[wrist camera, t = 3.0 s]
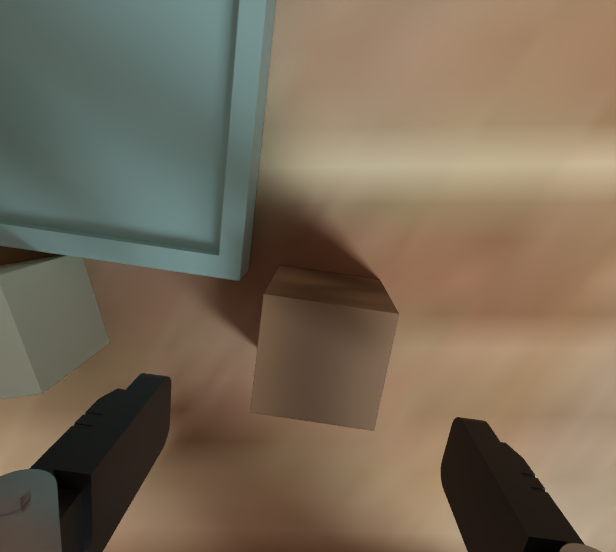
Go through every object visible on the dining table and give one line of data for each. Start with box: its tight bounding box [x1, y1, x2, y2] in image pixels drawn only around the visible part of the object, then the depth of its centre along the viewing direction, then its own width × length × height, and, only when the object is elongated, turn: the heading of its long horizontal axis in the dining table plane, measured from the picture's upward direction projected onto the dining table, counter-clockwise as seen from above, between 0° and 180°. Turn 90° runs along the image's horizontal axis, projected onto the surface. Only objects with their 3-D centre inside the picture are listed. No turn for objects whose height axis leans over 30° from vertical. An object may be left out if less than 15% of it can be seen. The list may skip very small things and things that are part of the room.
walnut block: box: [250, 265, 399, 431], centre depth 17 cm, size 5×5×5 cm
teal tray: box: [0, 0, 276, 281], centre depth 16 cm, size 14×14×2 cm
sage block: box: [0, 255, 110, 399], centre depth 17 cm, size 5×5×5 cm
